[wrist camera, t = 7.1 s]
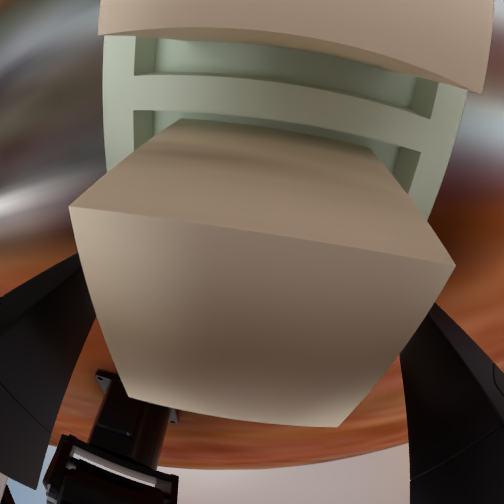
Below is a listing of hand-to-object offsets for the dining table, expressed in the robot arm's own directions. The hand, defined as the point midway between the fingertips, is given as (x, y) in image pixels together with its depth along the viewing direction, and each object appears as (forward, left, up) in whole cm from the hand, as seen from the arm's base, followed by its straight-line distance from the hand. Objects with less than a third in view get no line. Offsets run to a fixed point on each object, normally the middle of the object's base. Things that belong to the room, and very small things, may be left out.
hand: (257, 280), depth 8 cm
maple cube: (0, 0, -3) cm, 3 cm away
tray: (+5, 0, -4) cm, 6 cm away
